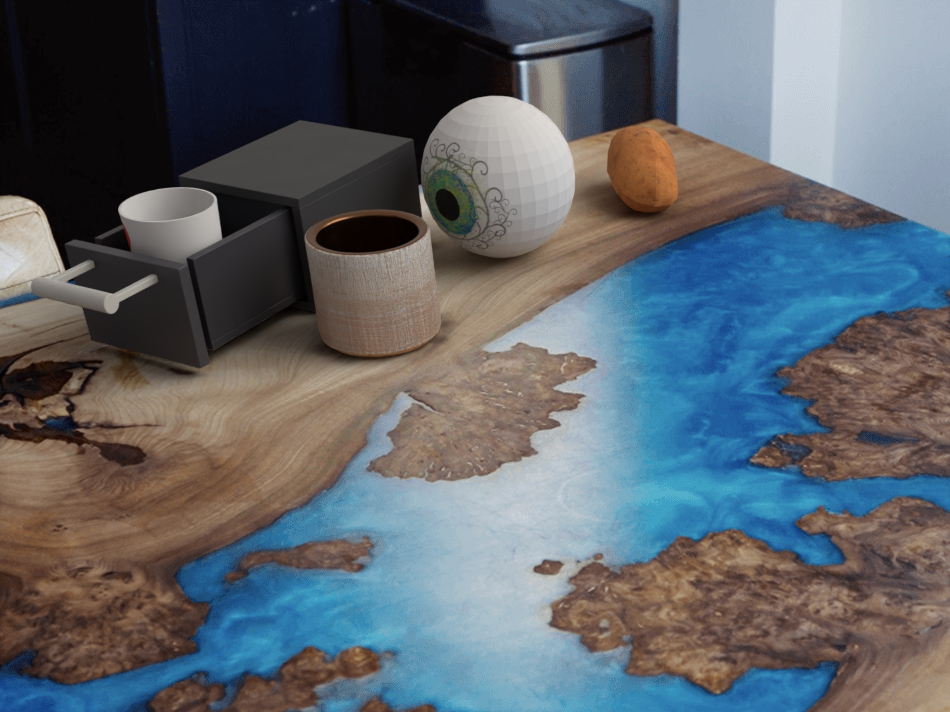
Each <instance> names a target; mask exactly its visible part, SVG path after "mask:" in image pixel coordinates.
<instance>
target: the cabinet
mask: <svg viewBox="0 0 950 712" xmlns="http://www.w3.org/2000/svg"><path fill="white" fill-rule="evenodd" d="M417 169H418V168H417V160H416V151H415V143H414V138H409V137H402V136H397V135H390V134H384V133H380V132H373V131H368V130H361V129H355V128H349V127H344V126H336V125H331V124H326V123H319V122H314V121H313V122H312V121H307V120H300V119H299V120H298V121H295V122H293V123H291V124H289V125H287V126H284V127H282V128H279V129H277V130H276V131H273V132H271V133H269V134H267V135H264V136H263V137H260V138H258V139H256V140H254V141H251V142H250V143H247V144H245V145H243V146H240V147H238V148H236V149H234V150H232V151H230V152H228V153H225V154H223V155H220V156H219V157H217V158H215V159H212V160H210V161H208V162H205V163H204V164H201V165H200V166H196V167H195V168H193V169H190V170H188V171H186V172H184V173H181V174H179V175H178V181H179V186H180V187H187V188H197V189H202V190H207V191H212V192H217V193H222V194H227V195H232V196H238V197H243V198H248V199H253V200H258V201H263V202H268V203H273V204H278V205H284V206H289V207H292V211H293V217H294V223H295V229H296V234H297V240H298V246H299V252H300V258H301V263H302V269H303V275H304V281H305V286H306V292H307V295H306V296H304V297H302V298H301V299H299V300H297V301H296V302H294V303H292V304H291V305H289V306H288V307H290V308H294V309H297V310H303V311H307V312H311V313H315V314H316V308H315V302H314V295H313V288H312V282H311V275H310V269H309V263H308V257H307V251H306V245H305V234H306V232H307V231H308V229H309V228H311V227H312V226H313V225H315V224H316V223H318V222H320V221H322V220H324V219H326V218H329V217H332V216H335V215H339V214H343V213H347V212H353V211H360V210H374V209H383V210H396V211H402V212H407V213H411V214H414V215H416V216H419V217H420V218H422V219H423V212H422V203H421V195H420V187H419V178H418V177H419V176H418V170H417Z"/></svg>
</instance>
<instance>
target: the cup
mask: <svg viewBox="0 0 950 712" xmlns="http://www.w3.org/2000/svg"><path fill="white" fill-rule="evenodd" d="M117 210H118V214H119V217H120V221H121V225H123V227H124V230H125V234H126V237H127V240H128V243H129V246H130V250H131V252H133V253H138V254H142V255H147V256H151V257H156V258H160V259H165V260H169V261H174V262H178V263H183V264H187V260H186V258H187V257H189V256H191V255H193V254H195V253H197V252H199V251H201V250H202V249H204V248H206V247H208V246H210V245H212V244H214V243H216V242H218V241H220V240H222V234H221V227H220V220H219V213H218V205H217V199H216V196H215V195H214V194H212V193H211V192H209V191H206V190H202V189H197V188H187V187H181V186H179V187H165V188H164V187H163V188H158V189H154V190H148V191H144V192H141V193H137V194H135V195H133V196H130V197H129V198H127V199H125V200H123V201H122V202H121V203H120V204H119V206H118V209H117ZM187 265H188V264H187Z"/></svg>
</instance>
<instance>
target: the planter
mask: <svg viewBox="0 0 950 712" xmlns="http://www.w3.org/2000/svg"><path fill="white" fill-rule="evenodd" d="M431 238H432V237H431V230H430V225H429V224H428V222H427V221H426V220H425V219H424V218H423V217H422V218H420V217H419V216H416V215H414V214H411V213H407V212H402V211H396V210H383V209H374V210H360V211H353V212H347V213H343V214H339V215H335V216H332V217H329V218H326V219H324V220H322V221H320V222H318V223H316V224H315V225H313V226H312V227H311V228H309V229H308V231H307V232H306V234H305V245H306V251H307V257H308V263H309V269H310V275H311V282H312V288H313V295H314V302H315V308H316V313H315V314H316V321H317V326H318V332H319V335H320V339H321V340H322V342H323V343H324V344H325V345H326V346H327V347H329V348H331V349H333V350H334V351H336V352H339V353H341V354H344V355H347V356H352V357H358V358H371V359H372V358H373V359H374V358H376V359H377V358H387V357H388V358H389V357H395V356H399V355H403V354H407V353H410V352H413V351H415V350H417V349H419V348H421V347H424V346H425V345H426V344H428V343H429V342H430V341H432V339H434V338H435V337H436V336H437V335H438V333H439V332H440V330H441V326H442V316H441V308H440V300H439V293H438V287H437V286H438V285H437V277H436V270H435V269H436V268H435V262H434V254H433V246H432V239H431Z"/></svg>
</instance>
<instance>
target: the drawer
mask: <svg viewBox="0 0 950 712" xmlns="http://www.w3.org/2000/svg"><path fill="white" fill-rule="evenodd" d="M206 191H207V190H206ZM209 192H211V193H212V194H214V195H215V196H216V199H217V205H218V213H219V220H220V227H221V234H222V240H220V241H218V242H216V243H214V244H212V245H210V246H208V247H206V248H204V249H202V250H201V251H199V252H197V253H195V254H193V255H191V256H189V257H187V258H186V260H187V264H188V265H187V264H183V263H178V262H174V261H169V260H165V259H160V258H156V257H151V256H147V255H142V254H138V253H133V252H131V250H130V246H129V243H128V240H127V237H126V234H125V230H124V227H123V224H120V225H119V226H116V227H115V228H112V229H111V230H108V231H106V232H104V233H102V234H100V235H98V236H95V237H94V241H95V243H92V242H88V241H84V240H80V239H79V240H78V239H72V240H71V241H68V242H65V243H64V247H65V251H66V255H67V259H68V263H69V265H70V268H68V269H67V270H64V271H62V272H61V273H58V274H56V275H54V276H52V277H50V278H48V277H43V276H36V277H34V278H33V279H32V281H31V283H30V290H31V292H32V294H33V295H34V296H36V297H39V298H43V299H47V300H51V301H55V302H59V303H64V304H67V305H72V306H76V307H80V308H81V310H82V313H83V316H84V319H85V323H86V326H87V327H86V328H87V330H88V335H89V337H90V340H91V341H92V342H95V343H99V344H103V345H107V346H111V347H115V348H118V349H121V350H122V349H123V350H126V351H130V352H135V353H138V354H142V355H146V356H150V357H154V358H157V359H162V360H165V361H170V362H173V363H177V364H181V365H185V366H189V367H193V368H195V369H203V368H204V367H206V366H207V365H209V364H211V362H210V357H209V353H208V350H209V351H213V352H215V350H217V349H218V348H220V347H222V346H224V345H225V344H227V343H229V342H230V341H232V340H233V339H235V338H237V337H239V336H240V335H242V334H244V333H245V332H247V331H250V329H253V328H254V327H256V326H257V325H259V324H260V323H262V322H264V321H266V320H268V319H269V318H270V317H273V316H274V315H275V314H278V313H279V312H281V311H282V310H284V309H286V308H287V307H289V305H291V304H292V303H294V302H296V301H297V300H299V299H301V298H302V297H304V296H306V295H307V292H306V286H305V281H304V275H303V269H302V263H301V258H300V252H299V246H298V240H297V234H296V229H295V223H294V217H293V211H292V207H289V206H284V205H278V204H273V203H268V202H263V201H258V200H253V199H248V198H243V197H238V196H232V195H227V194H222V193H217V192H212V191H209ZM72 279H73V281H74V283H75V284H73V283H69V281H70V280H72Z"/></svg>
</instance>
